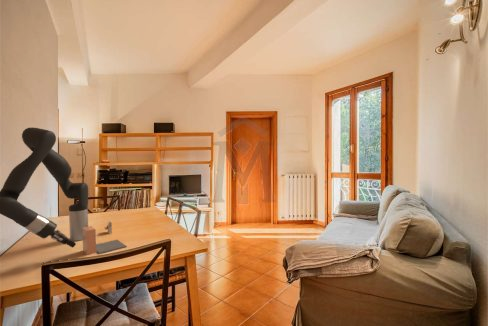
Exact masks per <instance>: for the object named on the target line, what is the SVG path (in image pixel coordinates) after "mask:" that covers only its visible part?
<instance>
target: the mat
mask: <svg viewBox="0 0 488 326" xmlns="http://www.w3.org/2000/svg"><path fill="white" fill-rule="evenodd" d="M123 248H127V245H126V244H125V243H123V242H122V241H120V240H118V239H114V240H110V241H105V242H100V243H98V244H97V243H96V253H97V254H98V255H101V254H106V253H108V252H112V251H116V250H120V249H123Z"/></svg>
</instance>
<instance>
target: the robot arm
mask: <svg viewBox="0 0 488 326" xmlns="http://www.w3.org/2000/svg"><path fill="white" fill-rule="evenodd" d="M56 137H57V136H56V134H55V132H53V131H52V130H49V129H43V128H38V127H27V128H25V129H24V130H23V131H22V134H21V138H22V139H21V140H22V141H23V143H24V145H25V146H26V147H27V148H28V149H29V150H30V151H31V154H30V155H28V157H26V158H25V159H24V160H22V161H21V162H20V163H18V164H17V165H16V166H15V167H13V169H12V170H11V171H10V173H9V174H8V175H7V178H6V179H5V181H4V184H3V185H2V188H1V189H0V215H2V216H4V217H5V218H8V219H10V220H12V221H13V222H15V223H16V224H18V225H20V226H21V227H23V228H25V229H26V230H27V231H28V232H31V233H32V234H34V235H36V236H38V237H40V238H41V239H42V240H43V239H46V238H48V237H49V236H50V239H51V240H53V241H56V242H58V243H59V244H63V245H67V246H69V247H70V248H74V247H75V246H76V245H77V243H76V242H77V241H78V242H79V241H83V231H82V228H84V227H89V212H88V211H89V209H88V206H89V185H88V184H87V183H86V182H71V180H70V177H71V174H72V167H71V165H70V163H69V162H68V160H66V158H65V157H64V156H62V155H61V154H60V153H58V152H57V151H55V150H54V149H53V147H54V145H55V144H56V142H57V138H56ZM41 163H42V165H44V167H45V168H46V169H47V171H48V173H50V175H51V176H52V177H53V178H54V179H55V181H56V182H57V184H58V186H59V187H60V189H61V191H62V193H63V194H64V196H66V198H68V199H69V200H70V199H72V200H73V199H74V200H75V199H76V200H77V199H78V201H77V202H75V203H73V204H71V205H69V206H68V215H69V216H68V219H69V220H68V221H69V237H68V236H67V235H65V234H64V233H62V232H61V230H59V229H57V227H58V224H56V223H55V222H54V221H52V220H50V219H49V218H48V217H47V218H46V217H45V216H43V215H41V214H39V213H37V212H35V211H34V210H33V209H31V208H28V207H26V206H25V205H23V203H21V202H19V201H18V200H19V197H20V195H21V193H22V192H24V190H25V189H26V187H27V185H28V183H29V182H30V179H31V177H32V176H33V174H34V172H35V171H36V170H37V168H38V167H39V165H40V164H41ZM56 229H57V230H56Z"/></svg>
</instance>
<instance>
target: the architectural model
mask: <svg viewBox="0 0 488 326" xmlns="http://www.w3.org/2000/svg"><path fill="white" fill-rule="evenodd" d="M103 228H104V230H105V231H107V234H108V235H112V233H113V223H112V221H111V220H109V221H107V224H106V226H103Z"/></svg>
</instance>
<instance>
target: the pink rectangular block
mask: <svg viewBox="0 0 488 326" xmlns="http://www.w3.org/2000/svg"><path fill="white" fill-rule="evenodd" d="M82 231H83V240H82V250H83V252H84V253H85V255H86V256H87V255H92V254H96V253H97V251H96V244H97V238H96V236H97V235H96V228H95V227H93V226H92V225H91V226H89V225H88V227H84V228H82Z"/></svg>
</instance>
